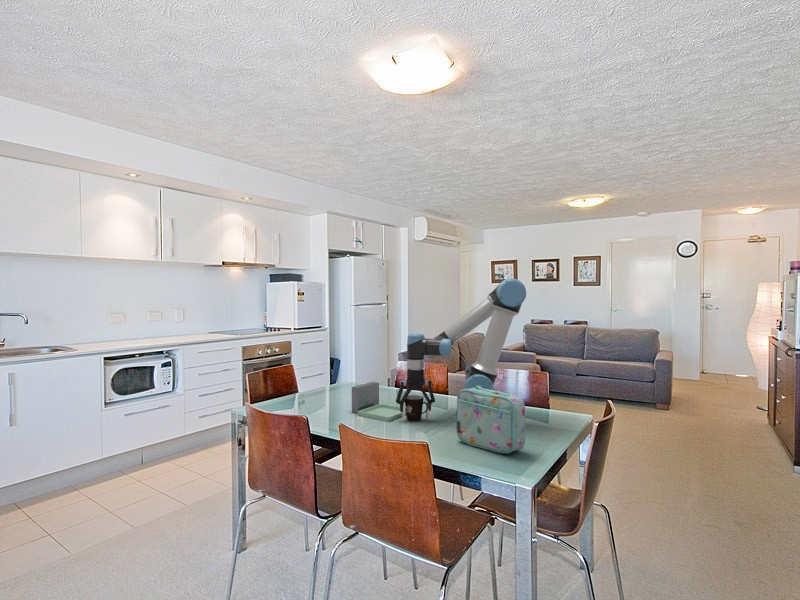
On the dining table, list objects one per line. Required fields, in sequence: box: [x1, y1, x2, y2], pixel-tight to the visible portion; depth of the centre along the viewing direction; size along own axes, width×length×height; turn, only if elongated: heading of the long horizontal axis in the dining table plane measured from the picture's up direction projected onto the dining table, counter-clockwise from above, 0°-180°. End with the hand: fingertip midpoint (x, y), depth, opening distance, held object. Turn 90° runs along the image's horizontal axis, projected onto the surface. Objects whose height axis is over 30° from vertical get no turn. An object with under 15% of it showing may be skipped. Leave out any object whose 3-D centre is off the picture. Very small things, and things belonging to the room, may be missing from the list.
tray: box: [357, 403, 406, 423], centre depth 206 cm, size 18×18×2 cm
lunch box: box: [454, 386, 526, 454], centre depth 162 cm, size 27×10×21 cm, turn 45°
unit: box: [351, 381, 380, 414], centre depth 215 cm, size 4×16×12 cm, turn 145°
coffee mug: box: [404, 394, 429, 423], centre depth 196 cm, size 12×9×10 cm
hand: (415, 418), depth 196 cm, fingers open, 10 cm apart
